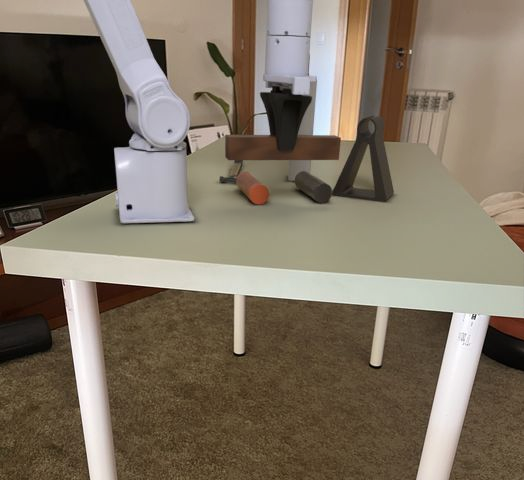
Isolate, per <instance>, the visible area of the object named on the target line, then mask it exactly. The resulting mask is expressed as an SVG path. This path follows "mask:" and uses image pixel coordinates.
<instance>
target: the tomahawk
mask: <svg viewBox="0 0 524 480" xmlns="http://www.w3.org/2000/svg"><path fill="white" fill-rule="evenodd" d="M243 161H244V160H233V164H232V167H231V170H230V174H229V176H227V177H225V176H223V175H222V176H221V175H220V176H219V182H223V183H224V182H229V183H230V182H231V183H236V179H237V176H238V175H239V174H240V170H241V168H242V166H243V165H242V164H243Z"/></svg>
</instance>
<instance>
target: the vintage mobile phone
mask: <svg viewBox="0 0 524 480" xmlns="http://www.w3.org/2000/svg"><path fill="white" fill-rule="evenodd" d="M310 57H311V53H310V52H309V63H310V61H311V58H310ZM308 76H310V66H309V67H308ZM317 85H318V79H317V77H316V82H310V90H309V95H302V96H312V101H311V103H310V105H309V106H308V108H307V110H306V112H305V114H304V117H303V119H302V122H301V125H300V128H299V132H298V135H314V127H315V125H314V124H315V111H316V101H317V99H316V98H317V87H318V86H317ZM311 164H312V160H288V182H291V183H295V177H296V175H297V174H298V173H299V172H301V171H306V172H308V173H310V174H311V167H312V165H311Z"/></svg>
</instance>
